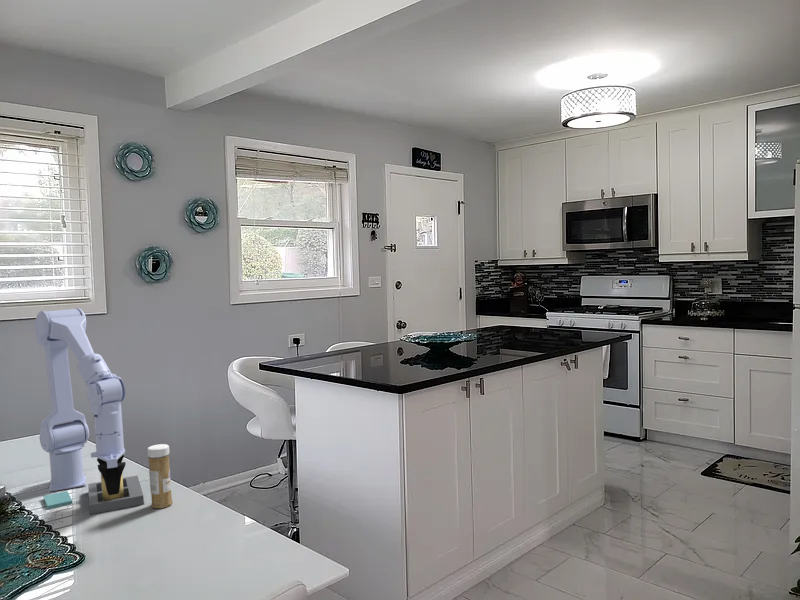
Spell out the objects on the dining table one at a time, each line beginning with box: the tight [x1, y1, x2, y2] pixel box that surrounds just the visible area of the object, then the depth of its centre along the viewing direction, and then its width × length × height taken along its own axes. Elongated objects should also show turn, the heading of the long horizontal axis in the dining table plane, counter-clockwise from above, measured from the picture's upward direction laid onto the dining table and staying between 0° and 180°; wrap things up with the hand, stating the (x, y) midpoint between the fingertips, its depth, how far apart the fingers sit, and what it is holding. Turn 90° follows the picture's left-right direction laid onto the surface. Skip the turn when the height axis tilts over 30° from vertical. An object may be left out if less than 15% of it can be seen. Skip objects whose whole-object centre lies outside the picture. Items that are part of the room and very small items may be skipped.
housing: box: [87, 475, 145, 515], centre depth 149 cm, size 16×11×2 cm
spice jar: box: [146, 443, 173, 509], centre depth 143 cm, size 5×5×14 cm
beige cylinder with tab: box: [100, 473, 124, 501], centre depth 145 cm, size 4×4×6 cm
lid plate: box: [43, 490, 73, 510], centre depth 148 cm, size 8×5×1 cm, turn 35°
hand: (113, 490), depth 145 cm, fingers closed on beige cylinder with tab, 4 cm apart
